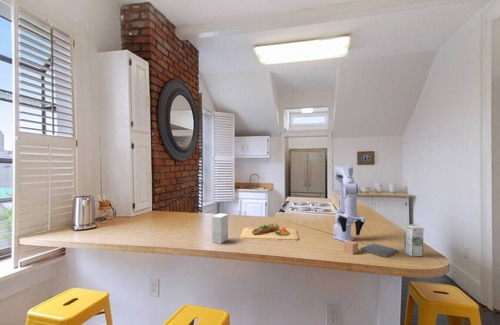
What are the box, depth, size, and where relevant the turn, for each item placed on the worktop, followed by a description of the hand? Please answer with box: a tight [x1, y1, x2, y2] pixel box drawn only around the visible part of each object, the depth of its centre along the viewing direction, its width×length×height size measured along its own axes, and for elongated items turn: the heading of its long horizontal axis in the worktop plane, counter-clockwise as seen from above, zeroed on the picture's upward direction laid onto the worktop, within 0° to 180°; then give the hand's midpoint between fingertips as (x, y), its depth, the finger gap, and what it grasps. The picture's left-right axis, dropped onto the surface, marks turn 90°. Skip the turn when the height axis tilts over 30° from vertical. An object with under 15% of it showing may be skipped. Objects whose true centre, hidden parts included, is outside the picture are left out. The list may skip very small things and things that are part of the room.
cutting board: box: [239, 223, 299, 241], centre depth 160 cm, size 35×23×8 cm
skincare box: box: [211, 212, 229, 244], centre depth 146 cm, size 8×7×16 cm
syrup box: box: [404, 224, 424, 257], centre depth 124 cm, size 6×6×14 cm
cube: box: [343, 240, 359, 255], centre depth 128 cm, size 5×5×5 cm
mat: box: [360, 243, 399, 258], centre depth 130 cm, size 13×13×1 cm
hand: (350, 233), depth 128 cm, fingers open, 7 cm apart
